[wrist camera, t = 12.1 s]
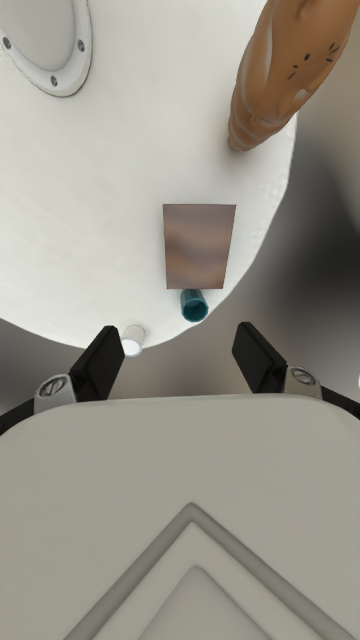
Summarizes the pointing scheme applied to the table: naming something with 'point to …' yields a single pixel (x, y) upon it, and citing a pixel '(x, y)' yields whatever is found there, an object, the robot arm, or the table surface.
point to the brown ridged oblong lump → (286, 64)
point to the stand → (197, 244)
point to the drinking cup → (193, 305)
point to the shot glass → (133, 340)
